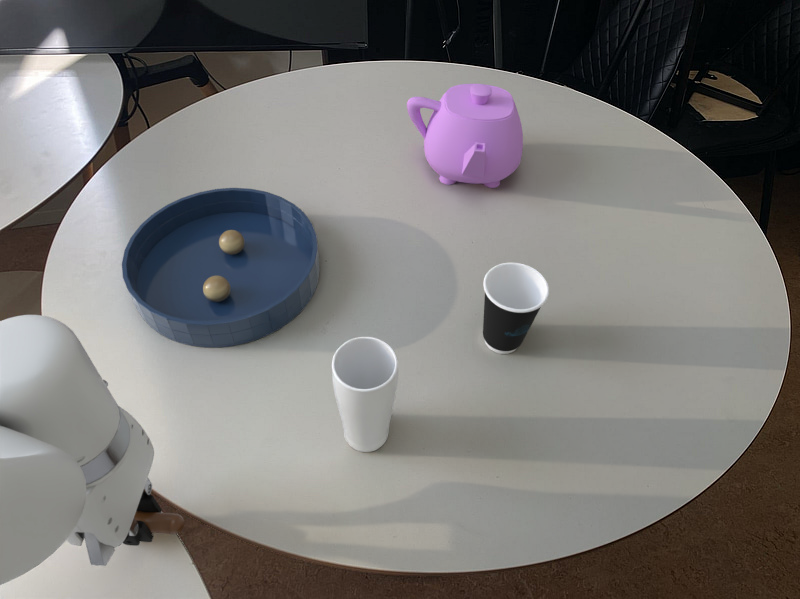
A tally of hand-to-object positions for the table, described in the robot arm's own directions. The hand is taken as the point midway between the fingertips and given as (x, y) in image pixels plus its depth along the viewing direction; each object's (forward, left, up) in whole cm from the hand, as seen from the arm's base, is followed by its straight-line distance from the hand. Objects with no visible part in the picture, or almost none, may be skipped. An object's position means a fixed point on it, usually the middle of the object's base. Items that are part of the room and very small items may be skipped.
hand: (142, 524), depth 62 cm
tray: (+37, 0, -2) cm, 37 cm away
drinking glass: (+13, -22, -2) cm, 26 cm away
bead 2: (+41, 0, +1) cm, 41 cm away
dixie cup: (+28, -39, -2) cm, 48 cm away
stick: (0, 0, 0) cm, 0 cm away
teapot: (+63, -34, -2) cm, 71 cm away
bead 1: (+32, 0, +1) cm, 32 cm away
